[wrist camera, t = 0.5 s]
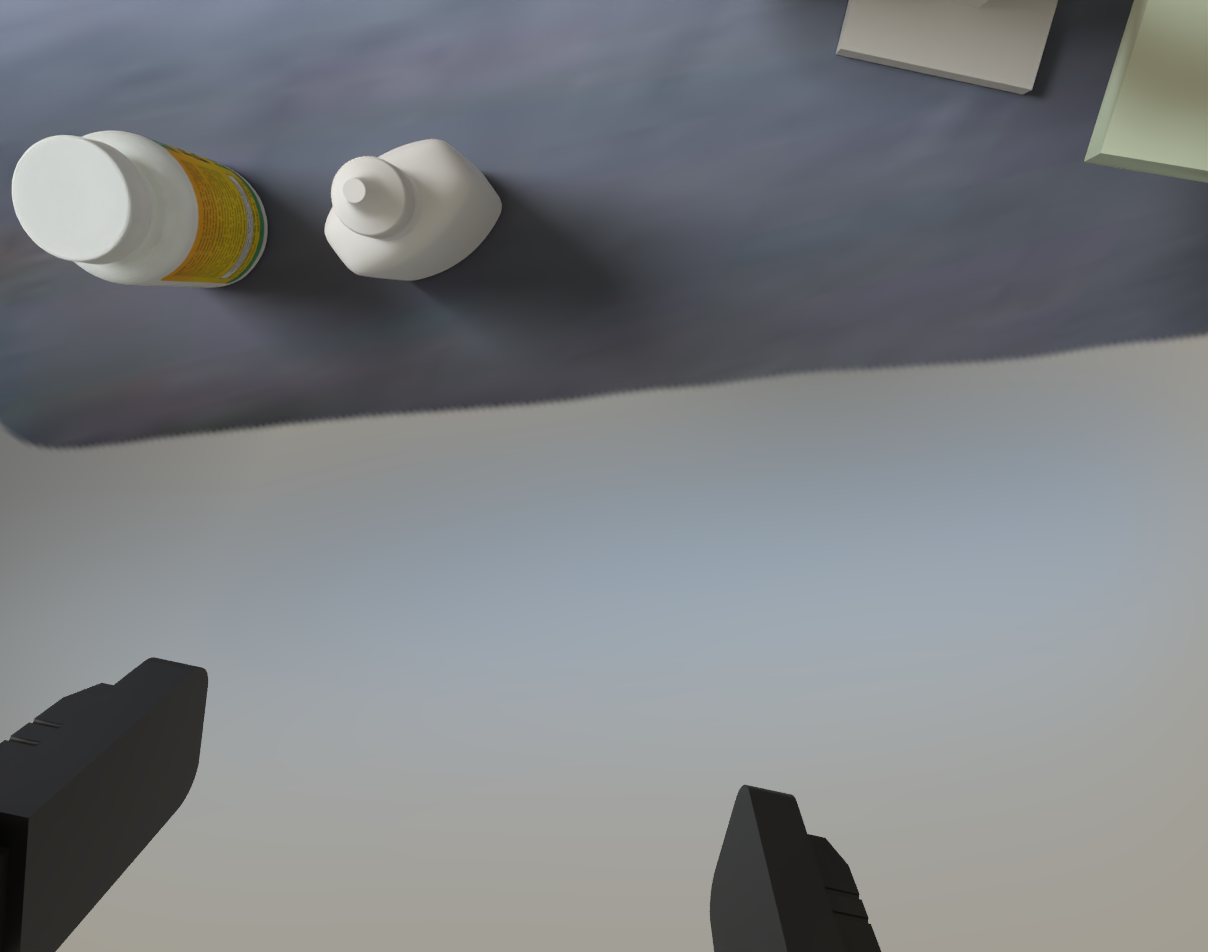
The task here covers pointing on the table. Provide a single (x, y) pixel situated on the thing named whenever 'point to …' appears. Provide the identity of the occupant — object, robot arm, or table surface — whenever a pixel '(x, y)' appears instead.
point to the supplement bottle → (139, 210)
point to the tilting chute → (1158, 93)
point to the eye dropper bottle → (410, 211)
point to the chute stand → (952, 38)
